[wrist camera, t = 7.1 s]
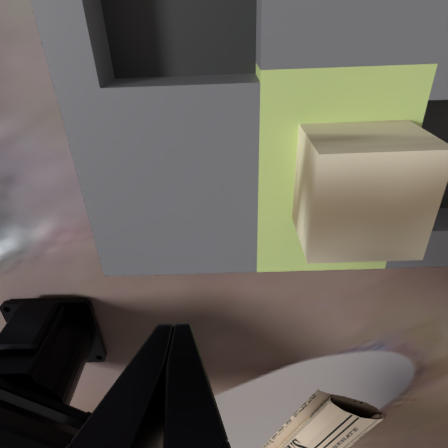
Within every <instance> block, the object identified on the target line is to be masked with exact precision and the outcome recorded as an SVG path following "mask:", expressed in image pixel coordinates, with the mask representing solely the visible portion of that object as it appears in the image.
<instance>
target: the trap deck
mask: <svg viewBox="0 0 448 448" xmlns="http://www.w3.org/2000/svg"><path fill="white" fill-rule="evenodd" d="M30 1H31V4H32V8H33V12H34V16H35V19H36V23H37V27H38V31H39V34H40V38H41V42H42V45H43V49H44V53H45V57H46V60H47V64H48V68H49V72H50V75H51V79H52V83H53V87H54V90H55V94H56V98H57V101H58V105H59V109H60V113H61V116H62V120H63V124H64V128H65V131H66V135H67V139H68V142H69V146H70V150H71V154H72V157H73V161H74V165H75V169H76V172H77V176H78V180H79V183H80V187H81V191H82V195H83V198H84V202H85V206H86V210H87V213H88V217H89V221H90V225H91V228H92V232H93V236H94V239H95V243H96V247H97V251H98V254H99V258H100V262H101V266H102V269H103V273H104V276H136V275H171V274H206V273H241V272H276V271H311V270H346V269H381V268H416V267H448V182H447V185H446V188H445V191H444V194H443V197H442V200H441V204H440V207H439V210H438V213H437V216H436V219H435V222H434V226H433V229H432V232H431V235H430V238H429V241H428V244H427V248H426V251H425V254H424V257H423V260H408V261H377V262H345V263H313V264H307V261H306V258H305V255H304V252H303V249H302V246H301V243H300V240H299V237H298V234H297V231H296V228H295V225H294V222H293V219H292V210H293V197H294V183H295V170H296V156H297V142H298V129H299V124H307V123H334V122H361V121H387V120H410V121H411V122H413V123H415V124H416V125H418V126H420V127H421V128H423V129H425V130H426V131H428V132H429V133H431V134H433V135H434V136H436V137H438V138H439V139H441V140H443V141H444V142H446V143H448V0H30Z"/></svg>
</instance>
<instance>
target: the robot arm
mask: <svg viewBox="0 0 448 448" xmlns="http://www.w3.org/2000/svg"><path fill="white" fill-rule="evenodd" d="M83 305H85V306H83ZM0 311H1V313H2V315H3V317H4V319H5V321H6V323H7V324H6V325H5V327H4V328H3V330H2V331H1V332H0V448H231V447H230V444H229V442H228V438H227V435H226V432H225V429H224V426H223V422H222V420H221V416H220V413H219V410H218V407H217V404H216V401H215V398H214V395H213V392H212V388H211V385H210V382H209V379H208V376H207V373H206V370H205V367H204V364H203V361H202V358H201V354H200V351H199V348H198V345H197V342H196V339H195V336H194V333H193V330H192V327H191V324H190V323H176V324H175V325H174V324H172V323H164V324H159V325H157V326H156V328H155V329H154V330H153V332H152V333H151V334H150V336H149V337H148V339H147V340H146V341H145V343H144V344H143V345H142V347H141V348H140V349H139V351H138V352H137V353H136V355H135V356H134V357H133V359H132V360H131V361H130V363H129V364H128V365H127V367H126V368H125V370H124V371H123V372H122V374H121V375H120V376H119V378H118V379H117V380H116V382H115V383H114V384H113V386H112V387H111V388H110V390H109V391H108V392H107V394H106V395H105V396H104V398H103V399H102V400H101V402H100V403H99V405H98V406H97V407H96V409H95V410H94V411H93V413H91V412H84V411H82V410H79V409H77V408H74V407H72V406H69V405H70V402H71V400H72V397H73V394H74V392H75V389H76V387H77V384H78V381H79V379H80V376H81V374H82V371H83V368H84V366H85V363H86V362H102V361H104V360H105V359H106V356H107V352H106V349H105V346H104V343H103V339H102V336H101V333H100V330H99V326H98V323H97V320H96V317H95V314H94V310H93V307H92V304H91V302H90V301H89V300H88V299H84V298H77V299H41V300H7V301H4V302H3V303H2V304H1V306H0Z"/></svg>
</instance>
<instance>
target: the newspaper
mask: <svg viewBox="0 0 448 448" xmlns="http://www.w3.org/2000/svg"><path fill="white" fill-rule="evenodd" d="M378 410H379V409H377V408H376V407H374V406H372V405H370V404H368V403H366V402H362V401H359V400H355V399H352V398H348V397H345V396H340V395H334V394H329V393H325V392H322V391H320V390H317V391H316V392H315V393H314V394H313V395H312V396H311V397H310V398H309V399H308V400H307V401H306V402H305V403H304V404H303V405H302V406H301V407H300V408H299V409H298V410H297V411H296V412H295V414H294V415H293V416H292V417H291V418H290V419H289V420H288V421H287V422H286V423H285V424H284V425H283V426H282V427H281V428H280V429H279V430H278V431H277V432H276V433H275V434H274V435H273V436H272V438H270V439H269V440H268V442H266V444H265V445H264V446H263V447H262V448H349V447H350V446H352V445H353V444H354V443H355V442H357V441H358V440H359V439H360V438H361V437H363V436H364V435H365V434H366V433H367V432H369V431H370V430H371V429H372V428H373V427H375V426H376V425H377V424H378V423H379V422H381V421H382V420H383V419H384V416H383V414H381V415H379V414H377V415H374V416H372V417H371V418H370V419H368V418H366V417H368V416H370V415H372V414H373V413H375V412H376V411H378Z"/></svg>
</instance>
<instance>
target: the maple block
mask: <svg viewBox="0 0 448 448" xmlns="http://www.w3.org/2000/svg"><path fill="white" fill-rule="evenodd" d="M447 182H448V143H446V142H444V141H443V140H441V139H439V138H438V137H436V136H434V135H433V134H431V133H429V132H428V131H426V130H425V129H423V128H421V127H420V126H418V125H416V124H415V123H413V122H411V121H410V120H387V121H361V122H334V123H307V124H299V129H298V142H297V156H296V170H295V183H294V197H293V210H292V219H293V222H294V225H295V228H296V231H297V234H298V237H299V240H300V243H301V246H302V249H303V252H304V255H305V258H306V261H307V264H313V263H345V262H377V261H408V260H423V257H424V254H425V251H426V248H427V244H428V241H429V238H430V235H431V232H432V229H433V226H434V222H435V219H436V216H437V213H438V210H439V207H440V204H441V200H442V197H443V194H444V191H445V188H446V185H447Z"/></svg>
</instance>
